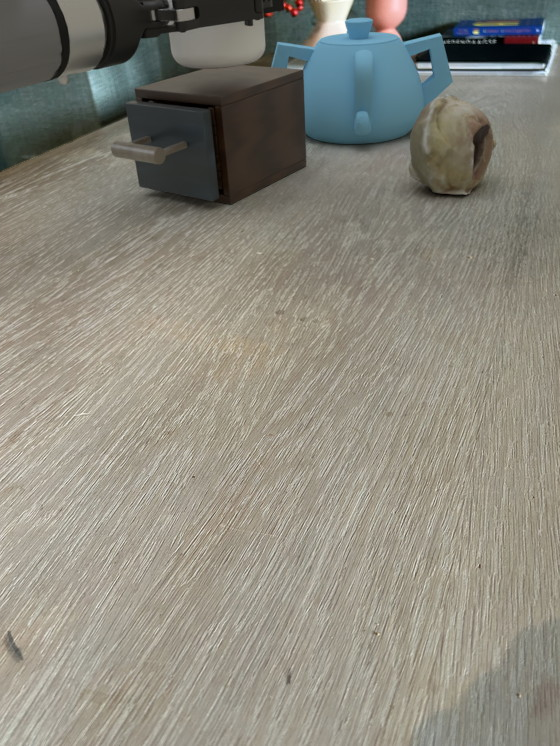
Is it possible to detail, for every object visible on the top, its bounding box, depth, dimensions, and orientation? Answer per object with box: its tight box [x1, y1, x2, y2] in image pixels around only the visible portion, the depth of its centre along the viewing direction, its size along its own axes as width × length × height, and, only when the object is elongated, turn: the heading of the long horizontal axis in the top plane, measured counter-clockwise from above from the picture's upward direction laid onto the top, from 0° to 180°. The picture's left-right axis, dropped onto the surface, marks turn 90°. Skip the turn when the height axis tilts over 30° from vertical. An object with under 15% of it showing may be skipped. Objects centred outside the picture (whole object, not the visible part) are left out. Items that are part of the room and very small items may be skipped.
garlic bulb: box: [408, 93, 497, 196], centre depth 70 cm, size 9×8×10 cm
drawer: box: [110, 99, 223, 202], centre depth 72 cm, size 19×11×9 cm, turn 145°
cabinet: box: [134, 64, 307, 205], centre depth 76 cm, size 15×12×11 cm
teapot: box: [270, 17, 454, 145], centre depth 90 cm, size 19×19×14 cm
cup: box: [167, 0, 266, 70], centre depth 69 cm, size 10×10×10 cm
